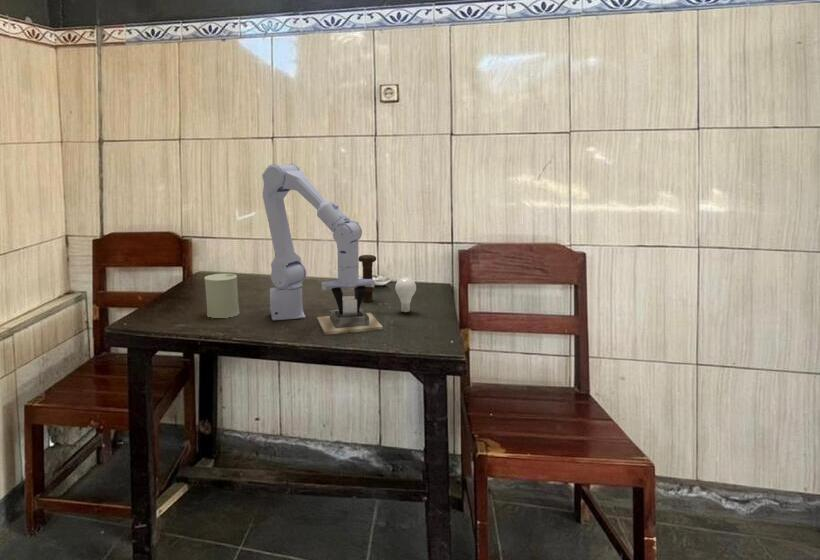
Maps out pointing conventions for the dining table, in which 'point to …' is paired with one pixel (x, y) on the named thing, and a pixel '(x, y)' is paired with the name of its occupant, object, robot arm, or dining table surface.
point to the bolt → (367, 274)
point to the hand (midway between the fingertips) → (348, 312)
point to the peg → (349, 307)
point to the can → (221, 295)
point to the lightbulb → (405, 292)
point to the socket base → (348, 323)
